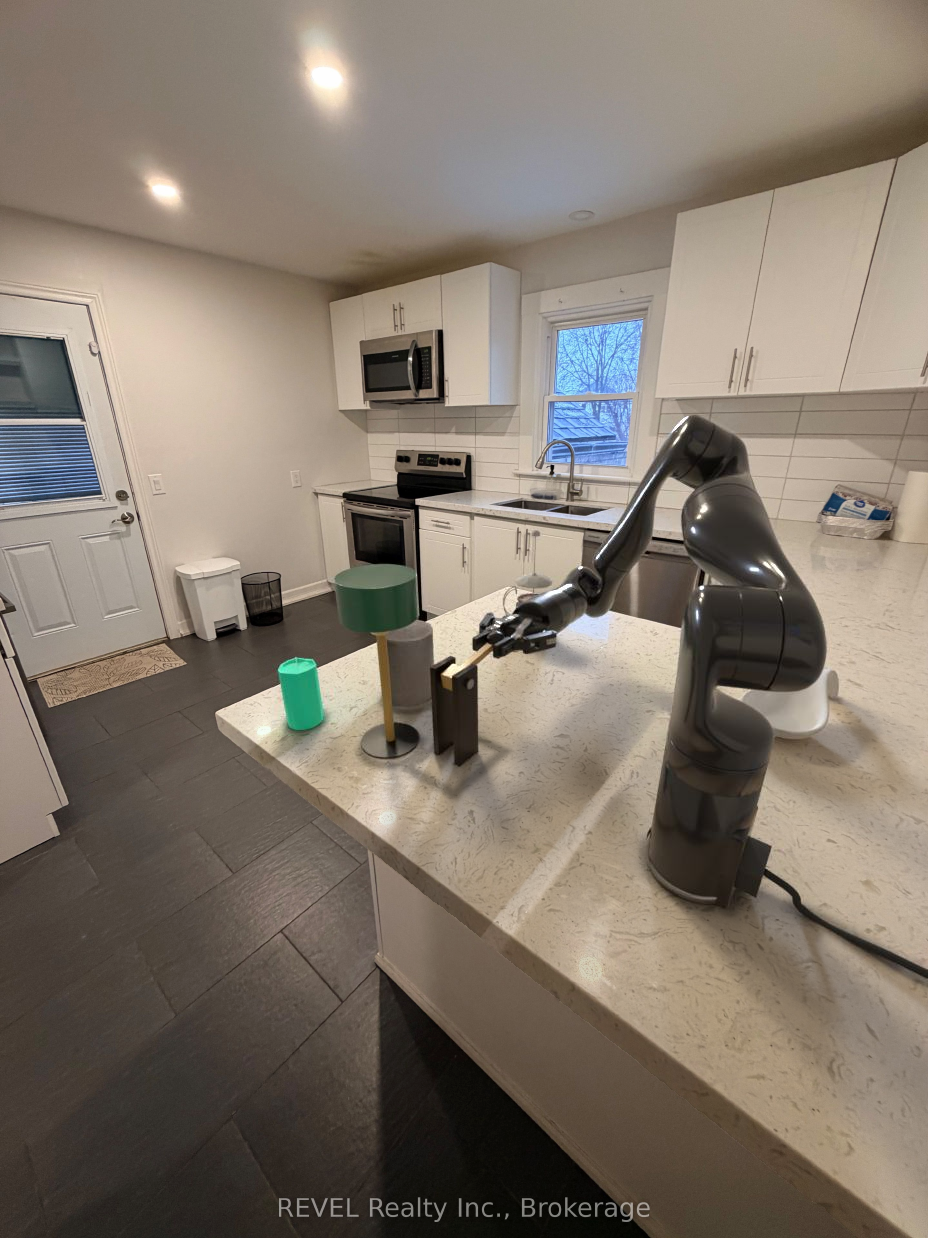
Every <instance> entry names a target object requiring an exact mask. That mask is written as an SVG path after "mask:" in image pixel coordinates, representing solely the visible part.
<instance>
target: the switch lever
mask: <svg viewBox="0 0 928 1238" xmlns="http://www.w3.org/2000/svg"><path fill="white" fill-rule="evenodd" d="M505 638H506V637H505V636H504V634H503V633H501V632H499V631H493V632H491V633H489V634H488V635H487V637H486V640H485V643H486V644H485V645H484V646H483V647H482V648H480V649H479V650H478V651H475V652H474V653H473V654H472V655H471V656H470V657H469V658H467V659H466V660H465V661H464V662H463V663H461V664H459V665H458V664H457V663H456V664H452V665H451V666H450V667H448V668H447V669H446V670H445V671H444V672H442V673H441V679H442V684H443V687H444V688H446V689H448V690H451V691H452V675H454V674H456V673H457V672H459V671H461V670H462V669H464V668H466V667H467V666H469V665H471V664H475V665H477V666H478V665H479V664H480V663H481V662H482V661H483V660H484V659H485V658H486V657H487V656H489V655H490V654H491V653H493V646H494V644H496V643H498V642H499V641H501V640H503V639H505Z"/></svg>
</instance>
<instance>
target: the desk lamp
mask: <svg viewBox="0 0 928 1238" xmlns="http://www.w3.org/2000/svg"><path fill="white" fill-rule="evenodd" d="M333 583H334V584H333V585H334V592H335V600H336V609H337V616H338V623H339V625H340V626H342V628H344V629H346V630H349V631H353V632H356V633H357V632H358V633H365V634H368V633H370V634H371V635H373V636H375V638H376V639H375V640H376V650H377V660H378V670H379V680H380V681H379V683H380V693H381V702H382V703H381V704H382V713H383V723H380V724H377V725H376V726H373V727H371V728H370V729H368V730H367V731H366V732H365V733H364V734H363V735H362V738H361V739H360V745H361V749H362V751H363V752H364V753H365V754H366V755H368V756H370V757H373V758H376V759H380V760H381V759H383V760H391V759H396V758H400V757H403V756H406V755H408V754H410V753H411V752H413V751H414V750H415V749H416V747H417V746H418V745H419V743H420V740H421V739H420V738H421V737H420V733H419V731H418V730H417V728H415V727H414V726H412V725H411V724H408V723H405V722H397V721H394V712H393V704H392V698H391V686H390V675H389V663H388V651H387V640H386V634H388V633H389V632H391V631H392V630H397V629H400V628H403V627H406V626H408V625H410V624H412V623H413V622H415V621H416V620H419V616H420V607H419V591H418V575H417V571H416V570H415V569H413V568H412V567H409V566H406V565H402V564H401V565H400V564H391V563H377V564H376V563H375V564H364V565H359V566H353V567H350V568H347V569H345V570H342V571H340V572H339V573H337V574H336V575H335V576H334V577H333Z"/></svg>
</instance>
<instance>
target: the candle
mask: <svg viewBox="0 0 928 1238" xmlns="http://www.w3.org/2000/svg"><path fill="white" fill-rule="evenodd" d="M277 674H278V679H279V685H280V690H281V696H282V701H283V707H284V711H285V717H286V723H287V724H288V727H289V728H290V729H293V730H295V731H305V730H306V731H307V730H310V729H313V728H315V727H316V728H317V726H319V725H320V724H321V723H322V722H323V720H324V718H325V714H324V707H323V699H322V693H321V686H320V679H319V673H318V665H317V663H316V662H315V659H313V658H304V657H297V656H295V657H294V658H290V659H288V660H286V661H284V662H283V663H280V665H279V666H278V669H277Z"/></svg>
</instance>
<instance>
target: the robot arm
mask: <svg viewBox="0 0 928 1238" xmlns="http://www.w3.org/2000/svg"><path fill="white" fill-rule="evenodd" d="M748 453H749V452H748V449H747V446H746V444H745V442H744V441H743V439H742V438H741V437H739V436H738V435H737V434H735V433H734V432H731V431H730V430H728V429H726V428H724V427H722V426H720V425H718V424H716V423H715V422H713V421H711V420H709V419H707V418H705V417H703V416H701V415H698V414H690V415H688V416H686V417H684V418H683V419H681V420H680V422H679V423H678V424H677V425H676V426H675V427H674V428H673V429H672V431H671V432H670V433H669V435H668V436H667V437H666V439H665V440H664V442H663V443H662V445H661V447H660V448H659V449H658V452H657V453H656V455H655V457H654V459H653V460H652V462H651V464H650V465H649V467H648V469H647V470H646V472H645V474H644V475H643V477H642V479H641V480H640V483H639V484H638V485H637V488H636V490H635V491H634V493H633V495H632V497H631V499H630V501H629V502H628V504H627V506H626V508H625V510H624V512H623V513H622V514H621V516H620V517H619V520H618V521H617V523H615V526H614V527H613V528H612V530H611V531H610V532H609V534H608V535H607V536H606V537H605V539H604V541H603V542H602V543H601V545H599V547H598V548H597V550H596V551H595V553H594V554H593V556H592V558H591V559H592V565H593V567H594V569H595V571H596V572H597V573H596V572H594V570H592V569H591V568H589V567H587V566H577V567H574V568H573V569H572V570H570V571H569V573H568V574H567V575H566V576H565V578H564V579H563V581H562V582H561V584H560V585H558V586H556V587H554V588H553V589H550V590H547V591H544V592H541V593H538V594H539V595H537V596H535V597H533V598H530V599H528V600H526V601H524V602H522V603H521V604H519V605H518V606H517V607H516V606H515V609H514V611H513V612H512V613H509V614H510V615H509V614H508V615H506V614H505V615H503V616H502V617H496V616H495V613H494V612H487V613H486V614H485V615H484V617H483V618H482V620H480V622H479V624H478V634H476V635H474V636H473V637H472V639H471V640H472V641H471V645H472V648H471V649H472V651H474V652H477V651H478V650H479V649H480V648H482V647H483V646H484V645H485V644H486V643H485V640H486V637H487V635H488V634H489V633H491V632H493V631H499V632H501V633H503V634H504V636H505V637H506V638H505V639H503V640H501V641H499V642H498V643H496V644H494V646H493V652H492V657H493V659H497V660H499V659H501V658H503V657H506V656H507V655H510V654H511V653H518V652H519V651H522V654H524V655H530V654H534V653H539V652H543V651H546V650H550V649H554V648H556V647H557V639H558V637H557V636H558V634H560V633H561V632H562V631H564V630H566V628H567V627H569V625H571V624H573V623H574V622H577V621H578V620H579V619H581V618H582V617H583V616H584V615H586V616H587V617H589V618H590V619H591V618H592V619H597V618H600V617H603V616H604V615H606V614H607V613H608V612H609V611H610V610H611V608H612V607H613V605H614V603H615V601H616V599H617V596H618V594H619V591H620V588H621V586H622V584H623V582H624V580H625V579H626V577H627V575H628V574H629V573H630V571H631V570H632V569H633V568H634V567H635V565H636V564H637V563H638V562H639V561H640V560H641V559H642V558H643V556H644V555H645V553H646V552H647V550H648V548H649V546H650V544H651V543H652V539H653V534H654V525H655V513H656V512H655V511H656V505H657V500H658V495H659V493H660V491H661V489H662V487H663V485H664V484H665V482H666V481H667V480H668V478H671V479H674V480H675V481H678V482H680V483H681V484H683V485H684V486H687V487H689V488H690V489H693V491H692V492H691V493H690V494H689V495H688V497H687V498H686V499H685V501H684V503H683V506H682V508H681V513H680V526H681V534H682V540H683V546H684V548H685V551H686V553H687V555H688V557H689V558H690V559H691V561H692V562H693V563H694V564H695V565H696V566H697V567H698V569H700V570H701V571H702V572H704V573H705V574H707V575H708V576H709V577H710V578H712V579H713V580H715V581H717V582H718V583H719V584H702V585H699V586H697V587H695V589H694V590H693V591H692V592H691V593H690V595H689V597H688V599H687V601H686V603H685V607H684V611H683V615H682V619H681V628H680V636H679V648H678V658H677V667H676V677H675V684H674V690H673V696H672V701H671V702H672V703H671V710H670V715H669V716H670V717H669V721H668V728H667V732H666V733H667V734H666V739H665V745H664V751H663V757H662V761H661V768H660V774H659V780H658V786H657V791H656V797H655V798H656V799H655V803H654V804H655V805H654V810H653V815H652V822H651V826H650V828H649V829H648V831H647V833H646V839H645V840H648V842H647V844H646V845H647V846H646V851H645V852H646V853H645V856H646V857H645V859H646V863H647V866H648V868H649V871H650V872H651V874H652V876H653V877H654V878H655V879H656V881H658V883H659V884H660V885H662V886H663V887H664V888H665V889H666V890H667V891H669V892H671V893H672V894H673V895H675V896H677V897H680V898H681V899H684V900H687V901H689V902H693V903H697V904H705V905H711V904H712V905H713V904H715V905H718V906H720V907H721V908H723V909H728V908H729V906H730V903H731V901H732V898H733V895H734V894H735V891H736V890H738V891H741V892H743V893H744V894H747V895H749V896H750V897H752V898H754V899H757V897H758V894H759V890H760V887H761V883H762V881H763V877H765V878H767V879H768V880H769V881H770V882H772V883H774V884H775V885H777V886H778V887H780V888H781V889H782V890H784V891H785V892H786V893H787V894H788V895H789V896H790V897H791V902H792V904H793V906H794V908H795V909H796V910H797V911H798V912H799V913H800V914H802V915H803V916H804V917H806V918H807V919H808V920H810V921H812V922H814V923H816V924H818V925H820V926H822V927H823V928H825V929H827V930H829V931H831V932H832V933H834V934H836V935H837V936H839V937H840V938H842V939H844V940H846V941H848V942H849V943H851V944H854V945H855V946H857V947H860V948H861V949H864V950H866V951H868V952H870V953H872V954H874V955H877V956H879V957H882V958H883V959H886V960H888V961H890V962H892V963H894V964H896V965H898V966H900V967H902V968H904V969H906V970H908V971H910V972H912V973H914V974H916V975H918V976H920V977H923V978H924V979H927V980H928V969H927V968H925V967H923V966H921V965H919V964H917V963H915V962H913V961H910V960H909V959H907V958H905V957H903V956H901V955H899V954H896V953H894V952H893V951H890V950H888V949H886V948H884V947H882V946H880V945H877V944H875V943H872V942H870V941H867V940H865V939H863V938H861V937H859V936H856V935H854V934H851V933H849V932H848V931H846V930H843V929H841V928H840V927H838V926H835V925H834V924H831V923H830V922H828V921H826V920H824V919H823V918H821V917H820V916H819V915H817V914H816V913H814V912H813V911H811V910H810V909H809V908H808V907H807V906H805V905H804V904H803V903H802V898H801V896H800V894H799V892H798V891H797V889H796V888H795V887H793V886H792V885H791V884H790V883H789V882H787V881H785V880H784V879H783V878H781V877H780V876H778V875H777V874H775V873H774V872H772V871H771V870H769V869H768V868H767V864H768V862H769V857H770V855H771V851H772V847H773V846H772V845H771V844H768V843H766V842H764V841H761V840H759V839H757V838H755V837H753V836H752V832H753V828H754V824H755V820H756V818H757V815H758V810H759V806H758V804H759V800H760V797H761V792H762V788H763V785H764V781H765V778H766V774H767V771H768V767H769V763H770V760H771V756H772V753H773V749H774V745H775V740H776V739H775V737H776V736H774V730H773V727H772V726H771V724H770V722H769V721H768V720H767V719H766V718H765V717H764V716H763V715H762V714H761V713H760V712H759V711H757V710H756V709H754V708H753V707H751V706H749V705H748V704H746V703H744V702H742V701H741V699H740V700H739V699H737V698H735V697H733V696H731V695H728V694H727V693H725V692H723V691H722V690H719V689H718V688H717V687H725V688H733V689H743V690H759V691H761V690H762V691H769V692H797V691H801V690H804V689H807V688H809V687H810V686H811V685H813V684H814V683H815V682H816V681H817V680H818V679H819V677H820V675H821V674H822V671H823V669H824V668H825V664H826V659H827V655H828V654H827V653H828V644H827V643H828V642H827V634H826V628H825V625H824V624H825V623H824V620H823V617H822V614H821V612H820V609H819V607H818V605H817V603H816V601H815V599H814V597H813V594H812V593H811V592H810V591H809V589H808V587H807V586H806V584H805V583H804V582H803V579H801V577H800V575H799V574H798V572H797V571H796V569H795V568H794V566H793V565H792V564H791V562H790V560H789V559H788V558H787V556H786V553H785V552H784V551H783V549H782V546H781V545H780V542H779V541H778V538H777V536H776V533H775V532H774V529H773V527H772V523H771V520H770V517H769V514H768V511H767V510H766V507H765V505H764V502H763V500H762V498H761V496H760V494H759V493H758V491H757V488H756V485H755V482H754V479H753V478H752V474H751V469H750V460H749V454H748ZM531 644H535V645H534V646H532V647H531Z"/></svg>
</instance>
